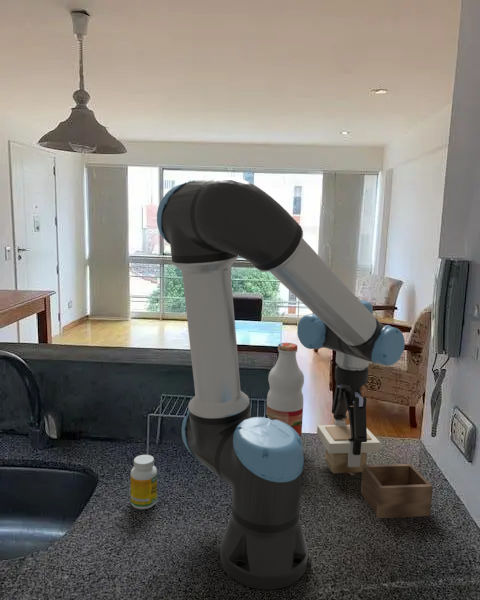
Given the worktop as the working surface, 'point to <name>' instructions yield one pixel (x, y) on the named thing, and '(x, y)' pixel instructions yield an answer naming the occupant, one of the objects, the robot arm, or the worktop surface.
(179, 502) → the worktop surface
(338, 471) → the block
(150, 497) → the supplement bottle
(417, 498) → the box
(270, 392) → the fruit juice
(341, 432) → the lid
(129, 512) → the worktop surface
